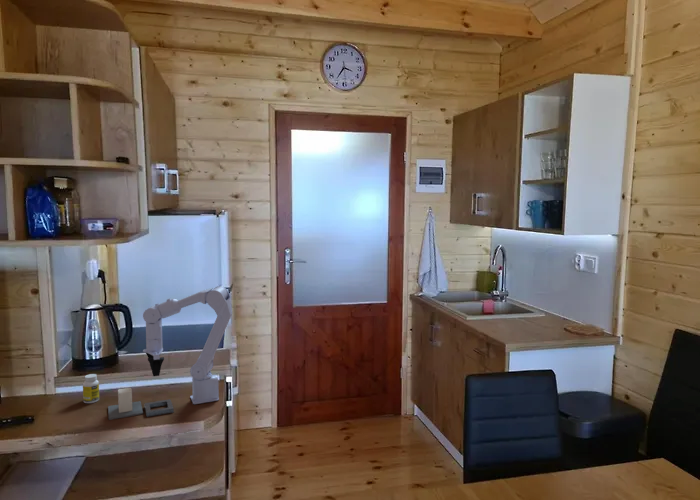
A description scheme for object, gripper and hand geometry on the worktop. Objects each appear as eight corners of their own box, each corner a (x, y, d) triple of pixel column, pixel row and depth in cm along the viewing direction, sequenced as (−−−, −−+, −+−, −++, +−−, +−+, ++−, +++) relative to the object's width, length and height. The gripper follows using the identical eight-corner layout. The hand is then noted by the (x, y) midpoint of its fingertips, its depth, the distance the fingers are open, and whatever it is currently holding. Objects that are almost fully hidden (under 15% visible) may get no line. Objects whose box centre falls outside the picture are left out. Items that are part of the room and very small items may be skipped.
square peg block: (131, 405, 182) (131, 387, 181) (132, 410, 178) (131, 391, 177) (118, 407, 180) (117, 389, 179) (119, 412, 176) (118, 393, 175)
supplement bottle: (92, 404, 184) (91, 378, 183) (80, 402, 185) (78, 377, 184) (102, 398, 189) (101, 373, 188) (90, 397, 190) (89, 372, 189)
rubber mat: (140, 402, 186) (140, 401, 186) (143, 414, 176) (142, 412, 176) (108, 407, 181) (108, 406, 181) (108, 419, 171) (108, 418, 171)
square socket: (170, 402, 186) (170, 399, 186) (173, 412, 178) (173, 408, 178) (144, 407, 182) (144, 403, 182) (146, 417, 174) (146, 412, 174)
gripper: (141, 334, 192) (142, 367, 193) (144, 344, 179) (145, 380, 180) (160, 332, 195) (161, 365, 196) (165, 341, 182) (165, 377, 184)
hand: (155, 372), depth 189 cm, fingers open, 7 cm apart
